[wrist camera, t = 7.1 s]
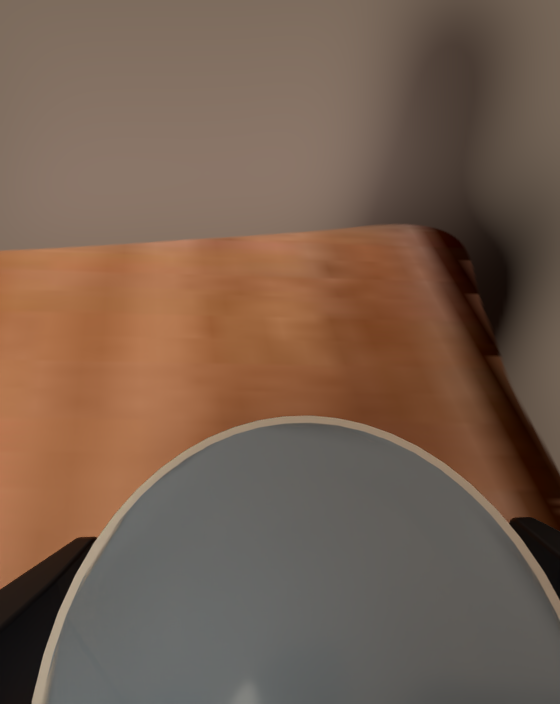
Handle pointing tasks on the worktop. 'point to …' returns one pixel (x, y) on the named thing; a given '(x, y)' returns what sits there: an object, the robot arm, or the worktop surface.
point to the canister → (305, 582)
